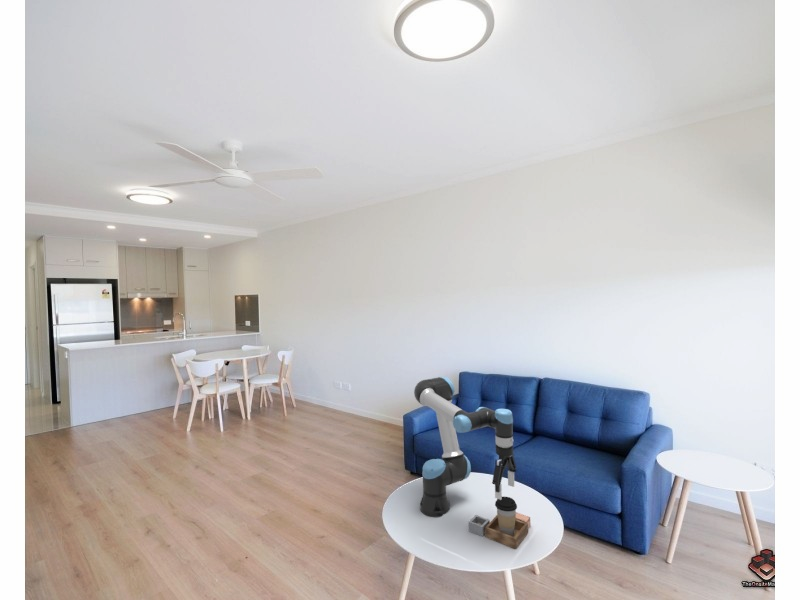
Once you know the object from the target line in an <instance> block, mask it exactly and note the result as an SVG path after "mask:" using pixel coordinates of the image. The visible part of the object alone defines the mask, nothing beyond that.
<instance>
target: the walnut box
mask: <svg viewBox="0 0 800 600" xmlns="http://www.w3.org/2000/svg"><path fill="white" fill-rule="evenodd" d="M528 534H529V529H528V523H525V522H522V521H519V520H517V519H515V527H514V536H513V537H512V536H509V535H507V534H504V533H502V532H500V528H499V523H498V515H495V517H493V519H491V520H490V523H489V524H488V525H487V526H486V527H485V535H484V536H485V538H486V539H489V540H491V541H494V542H497V543H499V544H502V545H504V546H506V547H509V548H511V549H514V550H518V548H519V546H520V545H521V543H522V541H524V539H526V537H527V535H528Z"/></svg>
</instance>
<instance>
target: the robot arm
mask: <svg viewBox="0 0 800 600" xmlns="http://www.w3.org/2000/svg"><path fill="white" fill-rule="evenodd" d="M455 391H456V389H455V386H454V384H453V382H452V381H451V379H449V377H446V376H439V377H433V378H428V379H423V380H421V381H418V383H416V385H415V387H414V391H413V393H414V398H415V400H416V401H417V402H418V403H419V404H420V405H422V406H424V407H428V408H430V409H432V410H433V411H434V412H435V415H436V420H437V425H438V430H439V435H440V440H441V445H442V451H443V453H442V455H441V458H436V459H435V458H432V459H429V460H426V461H425V463H423V466H422V473H421V475H422V490H423V491H422V495H421V496H422V497H421V500H420V504H419V505H420V506H419V509H420V512H422V513H423V514H424V515H426V516H427V517H434V518H438V517H442V516H444V515H446V514H447V513H449V511H450V509H451V504H450V501H449V497H448V495H447V486H450V485H453V484H455V483H458V482H463V481H464V480H466V479H468V478H469V477H470V475H471V471H472V468H471V467H472V466H471V462H470V460H469V458H468V457H467V456H466V455H465V454H464V452H463V451H462V450H461V449H460V445H459V440H458V436H457V433H460V434H463V433H469V432H471V431H472V432H473V431H474V430H475V431H476V430H479V429H482V428H485V427H489V428H492V429H495V430H494V434H495V439H494V440H495V453H496V454H497V456H498V459H495V462H494V464H495V465H494V470H493V476H492V482H491V483H492V484H493V485H494V498H495V499H496V500H497V499H500V500H501V499H502V497H503V492H502V490H503V489H502V480H503V476H504V473H505V470H506V469H508V470H507V486H510V487H513V488H514V487H515V473H516V472H517V464H516V461H515V457H514V446H513V445H514V436H513V435H514V433H513V432H514V431H513V430H514V429H513V428H514V427H513V425H514V417H513V412H512V411H511V410H510V409H508V408H497V409H495V410H493V409H491V408H488V407H485V406H480V407H478V408H477V409H475V410H474V411H472V412H467V411H466V410H463V409H462V408H460V407H458V405H455V404H453V403H452V402H453V397H454V395H455Z"/></svg>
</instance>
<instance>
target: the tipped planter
mask: <svg viewBox="0 0 800 600" xmlns="http://www.w3.org/2000/svg"><path fill="white" fill-rule="evenodd" d="M515 519H517V520H519V521H522V522H525V523H528V530H529V529H530V528H531V517H530V516H528V515H525V514H522V513H520V512H516V518H515Z"/></svg>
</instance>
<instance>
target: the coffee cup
mask: <svg viewBox="0 0 800 600" xmlns="http://www.w3.org/2000/svg"><path fill="white" fill-rule="evenodd" d="M494 506H495V508H496V514H497V515H498V523H499V528H500V532H502V533H504V534H507V535H509V536H512V537H513V536H514V527H515V518H516V510H517V508H518V505H517V503H516V501H515V500H514V499H513V497H509V496H502V499H501V500H500V499H497V498H496V500H495V503H494Z"/></svg>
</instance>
